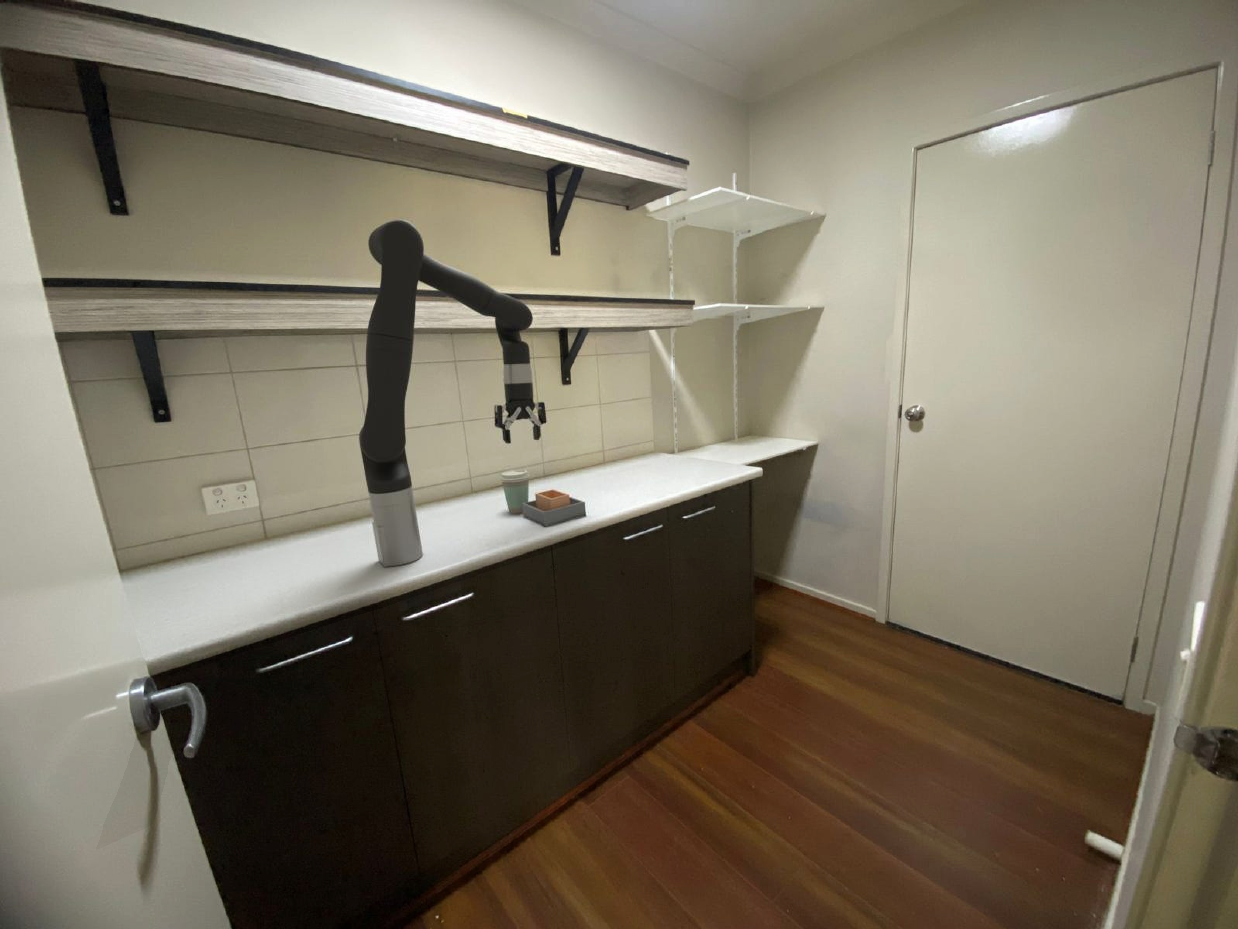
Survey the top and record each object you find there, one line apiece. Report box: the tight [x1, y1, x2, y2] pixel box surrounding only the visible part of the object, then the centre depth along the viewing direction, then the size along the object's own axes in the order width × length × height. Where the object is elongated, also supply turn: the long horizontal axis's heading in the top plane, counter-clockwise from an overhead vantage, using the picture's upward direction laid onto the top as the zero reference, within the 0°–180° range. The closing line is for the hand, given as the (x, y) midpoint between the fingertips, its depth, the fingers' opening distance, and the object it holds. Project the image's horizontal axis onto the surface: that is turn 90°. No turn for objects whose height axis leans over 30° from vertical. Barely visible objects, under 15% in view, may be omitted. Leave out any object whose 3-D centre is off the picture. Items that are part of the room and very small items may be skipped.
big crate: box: [522, 496, 587, 528], centre depth 141 cm, size 13×13×4 cm
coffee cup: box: [500, 469, 530, 515], centre depth 147 cm, size 8×8×12 cm
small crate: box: [534, 489, 570, 512], centre depth 140 cm, size 6×9×6 cm, turn 37°
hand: (522, 441), depth 134 cm, fingers open, 8 cm apart
